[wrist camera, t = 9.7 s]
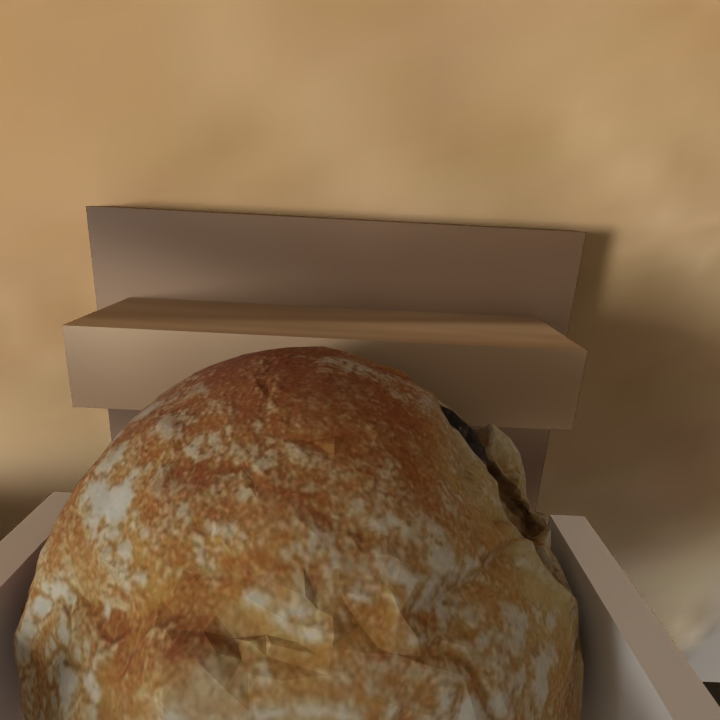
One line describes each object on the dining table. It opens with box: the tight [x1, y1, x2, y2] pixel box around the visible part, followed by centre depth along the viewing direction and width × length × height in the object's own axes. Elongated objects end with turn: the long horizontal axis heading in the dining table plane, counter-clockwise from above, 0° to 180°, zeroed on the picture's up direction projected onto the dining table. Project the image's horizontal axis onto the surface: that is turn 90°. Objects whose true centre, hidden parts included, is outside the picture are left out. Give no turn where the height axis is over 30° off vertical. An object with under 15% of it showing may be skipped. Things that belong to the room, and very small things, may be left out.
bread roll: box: [14, 346, 584, 720], centre depth 9 cm, size 10×10×8 cm
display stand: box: [62, 206, 588, 511], centre depth 15 cm, size 14×14×4 cm
